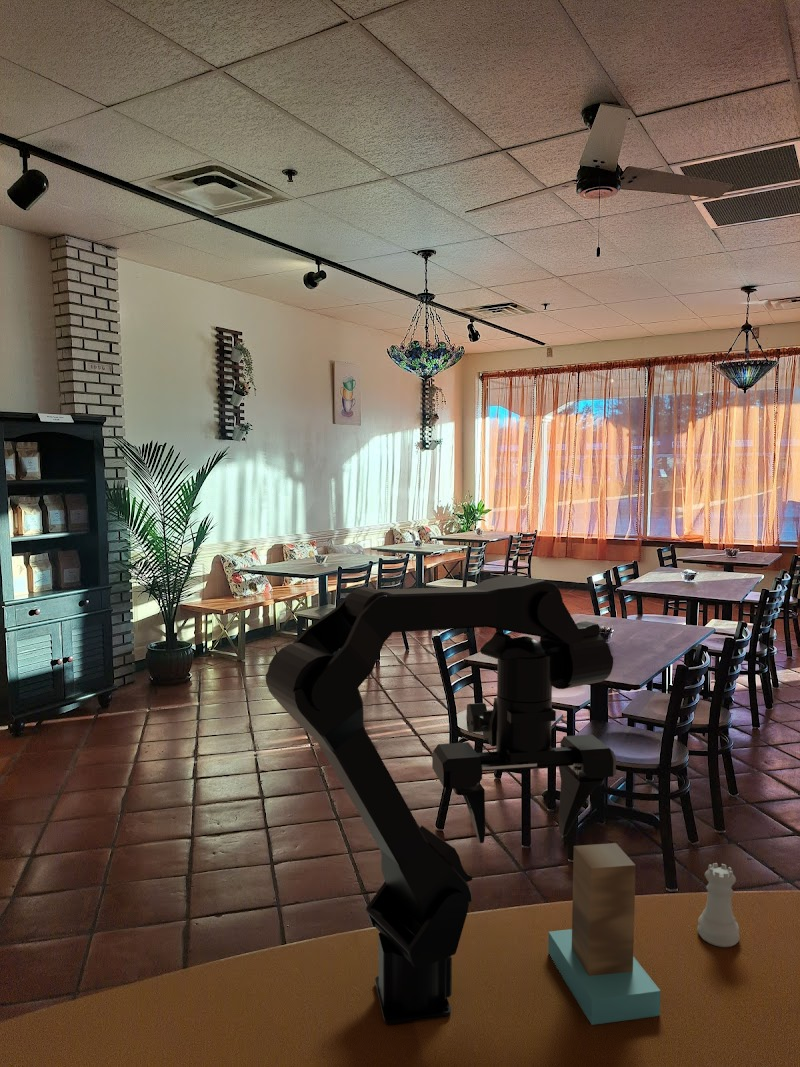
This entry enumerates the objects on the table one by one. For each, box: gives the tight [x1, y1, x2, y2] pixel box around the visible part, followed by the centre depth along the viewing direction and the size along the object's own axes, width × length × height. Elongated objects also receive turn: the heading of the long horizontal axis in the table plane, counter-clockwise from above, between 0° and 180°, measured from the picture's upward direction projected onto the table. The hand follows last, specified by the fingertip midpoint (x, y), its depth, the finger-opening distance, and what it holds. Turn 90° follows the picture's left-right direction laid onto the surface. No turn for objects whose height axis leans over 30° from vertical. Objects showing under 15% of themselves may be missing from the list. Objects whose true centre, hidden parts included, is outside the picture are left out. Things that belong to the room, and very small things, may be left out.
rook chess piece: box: [696, 862, 741, 948], centre depth 86 cm, size 4×4×8 cm
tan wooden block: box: [571, 842, 637, 976], centre depth 78 cm, size 5×5×11 cm
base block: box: [547, 928, 662, 1026], centre depth 78 cm, size 7×11×2 cm, turn 11°
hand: (522, 837), depth 82 cm, fingers open, 9 cm apart
